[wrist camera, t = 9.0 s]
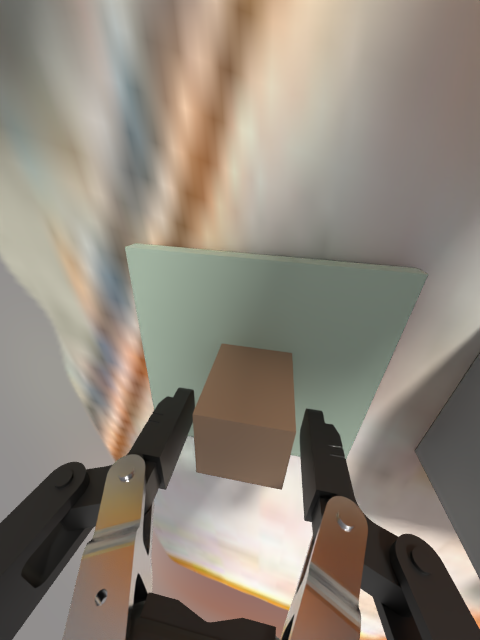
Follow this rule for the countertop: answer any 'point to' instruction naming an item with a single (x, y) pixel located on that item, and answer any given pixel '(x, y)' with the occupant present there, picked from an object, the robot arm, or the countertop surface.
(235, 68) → the countertop surface
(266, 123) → the countertop surface
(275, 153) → the countertop surface
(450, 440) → the bin
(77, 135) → the countertop surface
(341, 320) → the lid
